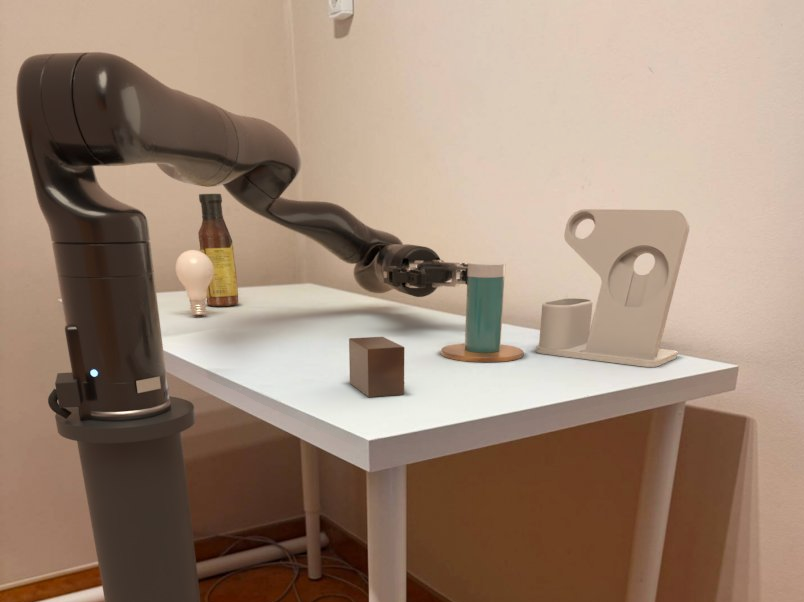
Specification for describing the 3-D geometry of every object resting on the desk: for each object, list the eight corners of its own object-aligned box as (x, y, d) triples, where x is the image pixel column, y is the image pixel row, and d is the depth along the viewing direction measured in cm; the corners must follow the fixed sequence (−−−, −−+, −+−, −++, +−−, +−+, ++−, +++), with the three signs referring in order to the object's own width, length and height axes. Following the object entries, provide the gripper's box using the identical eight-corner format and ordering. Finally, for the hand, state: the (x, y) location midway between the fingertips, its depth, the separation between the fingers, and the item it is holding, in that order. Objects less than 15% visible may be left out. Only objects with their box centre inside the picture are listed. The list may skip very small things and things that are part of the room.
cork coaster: (461, 364, 96) (461, 359, 96) (429, 349, 105) (429, 345, 105) (538, 359, 99) (538, 354, 99) (500, 345, 109) (500, 341, 109)
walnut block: (368, 397, 79) (367, 349, 77) (349, 383, 85) (348, 338, 83) (404, 394, 81) (404, 346, 79) (383, 381, 87) (383, 336, 85)
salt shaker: (494, 315, 92) (470, 243, 96) (465, 368, 102) (443, 301, 106) (530, 314, 94) (504, 242, 97) (497, 366, 104) (475, 299, 107)
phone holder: (529, 352, 104) (540, 208, 97) (562, 342, 112) (574, 208, 104) (654, 367, 95) (676, 210, 87) (680, 356, 102) (703, 210, 95)
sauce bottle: (245, 305, 149) (237, 193, 141) (221, 308, 144) (211, 193, 136) (222, 302, 152) (212, 193, 144) (198, 305, 147) (186, 193, 139)
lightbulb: (188, 320, 129) (181, 251, 125) (175, 315, 134) (167, 249, 129) (223, 317, 133) (217, 250, 128) (209, 313, 137) (203, 248, 133)
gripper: (451, 292, 126) (494, 304, 112) (369, 295, 121) (404, 308, 108) (452, 244, 123) (497, 250, 109) (368, 245, 118) (404, 251, 105)
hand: (451, 279), depth 108 cm, fingers open, 8 cm apart
